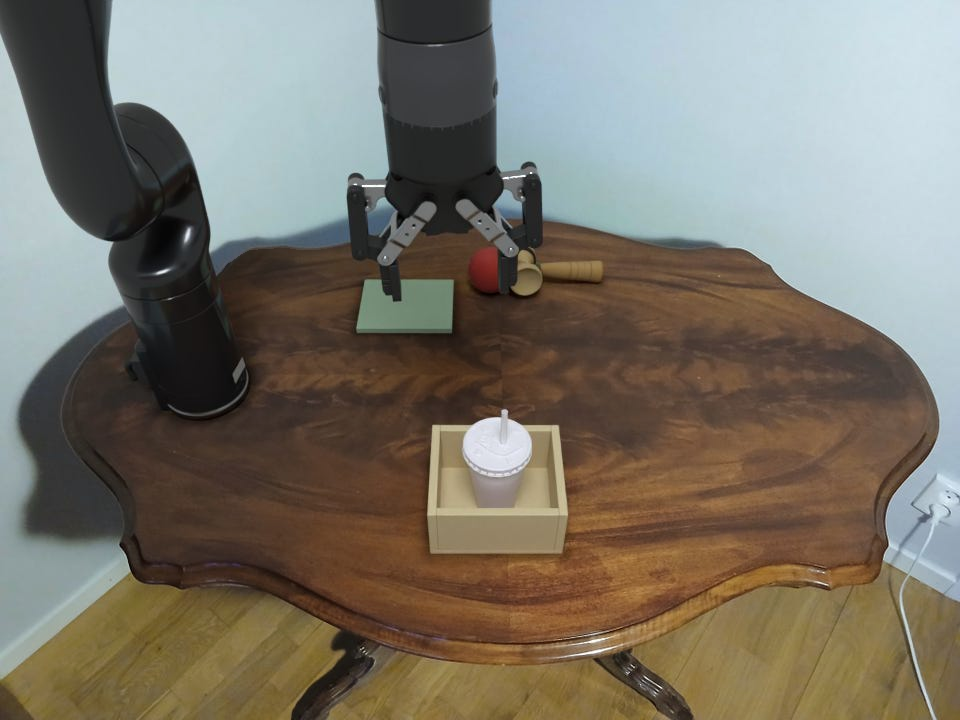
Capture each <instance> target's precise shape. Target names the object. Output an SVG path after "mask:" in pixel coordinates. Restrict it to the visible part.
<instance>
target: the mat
mask: <svg viewBox="0 0 960 720" xmlns="http://www.w3.org/2000/svg"><path fill="white" fill-rule="evenodd" d="M454 287H455V280H454V279H401V290H402V301H398V302H393V299H392V295H390V296H386V295H385V293H384V292H383V289H382V282H381V278H379V279H375V278H374V279H372V278H371V279H370V278H369V279H365V278H364V283H363V288H362V294H361V299H360V305H359V311H358V316H357V321H356V334H453V319H454V318H453V315H454V290H455V289H454Z"/></svg>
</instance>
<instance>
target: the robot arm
mask: <svg viewBox="0 0 960 720" xmlns="http://www.w3.org/2000/svg"><path fill="white" fill-rule="evenodd" d="M373 2H374V11H375V21H376V34H377V35H376V36H377V37H376V38H377V40H376V41H377V42H376V44H377V45H376V69H377V77H378V78H377V79H378V88H377V91H378V92H377V93H378V97H379V101H380V103H381V110H382V111H381V112H382V119H383V130H384V138H385V145H386V156H387V163H388V164H387V165H388V172H387V174H386V175H385V178H377V179H376V178H374V179H369V178H367V179H365V176H364V175H363V174H361V173H360V172H352V173H351V174H349V176H348V177H347V184H346V206H347V217H348V219H347V220H348V228H349V237H350V238H349V239H350V249H351V256H352V258H353V259H354V260H356V261H357V262H358V261H359V262H363V261H366V260H372V261H375V262H376V263H377V264H378V266H379V273H380V279H381V282H382V289H383V292H384V293H385V295H386V296H390V295H392V299H393V302H398V301H402V290H401V280H402V279H401V271H400V262H399V255H400V254H401V252H403V250H404V249H407V248H408V247H409V246H410V245H411V243H412V242H413V240H414V239H415V238H416V237H417V235H418V234H419V233H423V234H425V236H426V237H429V236H430V237H434V236H440V235H443V234H445V233H446V234H447V233H449V234H457V235H463V234H469V231H470V230H473V229H475V230H476V231H477V232H479V234H480V235H481V236H482V237H483V238H484V240H486V241H487V242H488V243H492V244H493V245H494V246H495V248H497V256H498V285H499V290H500V291H499V294H509V293H510V288H511V287H510V286H515V285H516V283H517V275H518V254H519V253H520V251H521V250H523V249H525V248H527V247H530V248H533V249H534V250H535V249H538V248H540V247H541V246H542V245H543V243H544V228H543V223H544V222H543V220H544V219H543V184H542V180H541V178H540V174H539V171H538V167H537V165H536V163H535V162H534V161H530V160H529V161H525V162H523V163H522V164H521V166H520V169H514V170H506V171H501V170H500V168H499V167H498V162H497V161H498V159H497V158H498V156H497V155H498V152H497V151H498V148H497V147H498V145H497V143H498V139H497V138H498V137H497V134H498V131H497V130H498V129H497V128H498V126H497V125H498V121H497V119H498V118H497V111H498V110H497V109H498V107H497V105H498V104H497V102H498V101H497V99H498V93H499V82H498V77H497V72H498V71H497V52H496V45H495V44H496V43H495V39H494V30H493V29H494V27H493V0H373ZM112 11H113V0H0V37H1V40H2V43H3V45H4V48H5V50H6V53H7V55H8V59H9V61H10V64H11V67H12V70H13V72H14V75H15V78H16V81H17V84H18V85H17V86H18V88H19V90H20V94H21V97H22V101H23V105H24V108H25V112H26V115H27V119H28V123H29V126H30V129H31V133H32V136H33V140H34V143H35V146H36V147H35V148H36V150H37V151H36V152H37V153H38V158H39V162H40V165H41V168H42V170H43V173H44V176H45V180H46V182H47V184H48V186H49V189H50V191H51V193H52V194H53V196H54V198H55V200H56V201H57V203H58V204H59V206H60V208H61V209H62V210H63V212H64V213H65V214H66V216H67V217H68V218H69V219H71V221H72V222H73V223H74V224H75V225H76V226H77V227H79V229H81V230H83V232H85V233H87V234H89V235H90V236H92V237H94V238H96V239H98V240H101V241H104V242H108V243H109V242H110V243H112V244H111V246H110V250H109V252H108V256H107V257H108V258H107V265H108V266H107V267H108V269H109V272H110V276H111V277H112V280H113V282H114V284H115V287H116V289H117V291H118V294H119V296H120V298H121V300H122V302H123V305H124V308H125V309H126V312H127V314H128V316H129V318H130V321H131V323H132V325H133V327H134V330H135V332H136V334H137V337H138V339H137V341H136V343H135V345H134V352H133V354H132V356H131V357H130V358H128V359H127V360H126V361H125V363H124V370H125V372H126V373H127V375H128V376H129V378H130V379H131V380H137V379H138V381H139V382H148V383H149V385H150V388H151V391H152V392H153V394H154V396H155V398H156V401H157V403H158V405H159V407H160V410H163V411H165V410H166V411H167V410H168V411H170V412H172V414H174V415H175V416H177V417H179V418H182V419H184V420H190V421H204V420H211V419H215V418H217V417H220V416H223V415H225V414H227V413H229V412H231V411H232V410H234V409H235V408H236V407H238V406H239V405H240V404H241V403H242V402H243V401H244V399H245V398H246V396H247V394H248V392H249V390H250V386H251V382H250V376H249V373H248V370H247V368H246V364H245V360H244V358H243V355H242V353H241V350H240V346H239V343H238V340H237V337H236V334H235V331H234V328H233V324H232V321H231V318H230V315H229V312H228V308H227V306H226V302H225V299H224V296H223V292H222V289H221V287H220V282H219V280H218V277H217V273H216V270H215V268H214V264H213V260H212V257H211V253H210V245H211V244H210V243H211V237H212V236H211V235H212V233H211V224H210V218H209V215H208V211H207V206H206V203H205V198H204V194H203V189H202V185H201V182H200V178H199V175H198V170H197V167H196V164H195V160H194V158H193V155H192V153H191V151H190V148H189V146H188V144H187V142H186V141H185V139H184V137H183V136H182V134H181V133H180V131H179V130H178V129H177V128H176V127H175V125H174V124H173V123H172V122H171V121H170V120H169V119H168V118H167V117H165V115H164V114H162V113H161V112H160V111H158V110H156V109H154V108H152V107H150V106H148V105H145V104H143V103H139V102H133V101H132V102H131V101H127V102H119V103H116V104H114V101H113V100H114V99H113V97H112V91H111V86H110V78H109V50H110V49H109V46H110V35H111V23H112V14H113V13H112ZM504 190H505V191H506V190H507V191H509V192H510V193H511V194H512V197H513V199H514V200H515V201H516V202H520V203H521V216H522V217H521V218H522V219H521V220H522V224H519V225H516V226H512V225H511V224H510V223H509V222H508V220H506V219H505V217H503V216H502V214H501V212H500V211H499V209H498V208H497V206H496V205H495V204H496V202H497V201H498V200H499V199H500V198H501V196H502V194H503V193H504ZM382 198H385V200H386V201H387V202H388V203H389V204H390V205H391V206H392V207H393V208H394V209H395V211H394V212H393V213H392V215H391V217H390V219H389V220H390V221H389V222H388V224H387V225H386V227H385V228H384V229H383V230H382V232H381V233H380V235H379V236H377V235H374V234H370V233H369V220H368V213H371V212H373V211H374V210H375V209H376V208H377V203H378V202H379V200H380V199H382Z"/></svg>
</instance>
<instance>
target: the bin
mask: <svg viewBox="0 0 960 720" xmlns="http://www.w3.org/2000/svg"><path fill="white" fill-rule="evenodd" d="M472 425H473V424H432V426H431V441H430V442H431V443H430V461H429V478H428V479H429V480H428V494H427V495H428V496H427V510H426V511H427V513H426V517H427V530H428V543H429V552H430V553H429V554H430V555H431V554H432V555H434V554H435V555H436V554H440V555H441V554H444V555H445V554H449V555H451V554H453V555H455V554H460V555H461V554H462V555H463V554H464V555H465V554H467V555H468V554H469V555H471V554H474V555H475V554H476V555H477V554H478V555H479V554H482V555H483V554H485V555H486V554H488V555H489V554H490V555H491V554H492V555H493V554H494V555H495V554H500V555H501V554H504V555H505V554H509V555H510V554H512V555H513V554H515V555H519V554H523V555H524V554H525V555H527V554H528V555H529V554H530V555H531V554H533V555H534V554H537V555H539V554H541V555H542V554H544V555H545V554H547V555H548V554H550V555H552V554H554V555H555V554H557V555H562V554H563V551H564V545H565V538H566V531H567V525H568V519H569V509H568V500H567V499H568V498H567V489H566V480H565V473H564V462H563V452H562V442H561V435H560V434H561V433H560V425H559V424H521V425H522V426H523V427H524V428H525V429H526V430H527V432H528V433H529V435H530V437H531V441H532V455H531V458H530V461H529V462H528V464H527V465H526V466H525V469H524V472H523V475H522V479H521V483H520V486H519V490H518V493H517V497H516V501H515V504H514V508H478V507H477V503H476V498H475V493H474V488H473V484H472V479H471V474H470V469H469V465H468V464H467V462H466V460H465V459H464V456H463V452H462V448H463V439H464V436H465V434H466V432H467V430H468V429H469V428H470V427H471V426H472Z"/></svg>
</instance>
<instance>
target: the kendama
mask: <svg viewBox="0 0 960 720" xmlns="http://www.w3.org/2000/svg"><path fill="white" fill-rule="evenodd" d="M537 258H538V257H537V254H536V251H535V249H533V248H530V247H527V248H525V249H523V250H521V251H520V253H519V254H518V275H517V283H516V285H515V286H510V287H509V288H510V289H511V290H512V292H513V293H515V294H516V295H518V296H522V297H523V296H531V295H534V294H535V293H537V292H538V291H539V290H540V289H541V287H542V285H543V277H546V278H551V279H559V280H571V281H582V282H589V283H590V282H591V283H600V282H601V281H602V279H603V276H604V264H603V262H602V261H601V260H589V261H588V260H583V261H581V260H580V261H579V260H578V261H554V262H553V261H552V262H544V263H538V262H537V261H538V259H537ZM467 270H468V271H467V272H468V279H469V282H470V283H471V284H472V286H474V288H476V290H478V291H480V292H482V293H487V294H494V293H498V292H499V293H500V290H499V285H498V256H497V247H494V246H493V247H492V246H488V247H484V248H481V249H479V250H478V251H476V252H475V253H474V254H473V255H472V257H471V258H470V260H469V263H468V268H467Z"/></svg>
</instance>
